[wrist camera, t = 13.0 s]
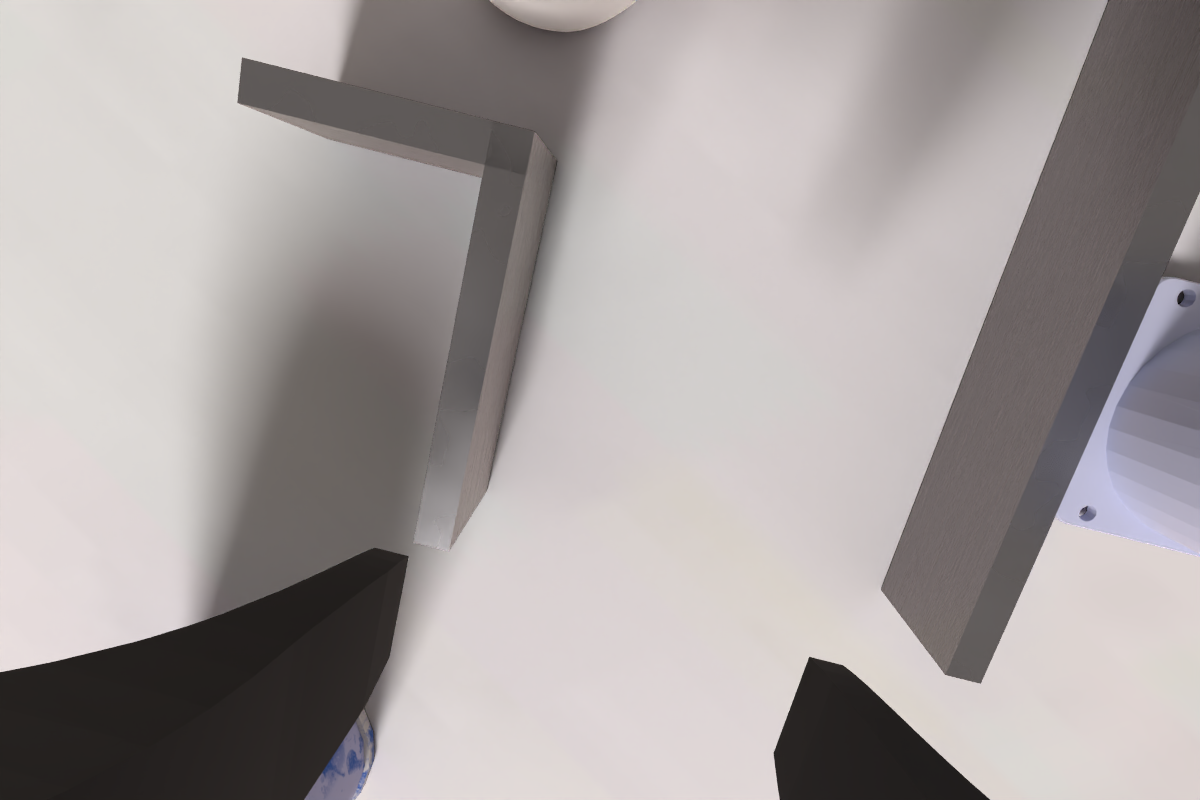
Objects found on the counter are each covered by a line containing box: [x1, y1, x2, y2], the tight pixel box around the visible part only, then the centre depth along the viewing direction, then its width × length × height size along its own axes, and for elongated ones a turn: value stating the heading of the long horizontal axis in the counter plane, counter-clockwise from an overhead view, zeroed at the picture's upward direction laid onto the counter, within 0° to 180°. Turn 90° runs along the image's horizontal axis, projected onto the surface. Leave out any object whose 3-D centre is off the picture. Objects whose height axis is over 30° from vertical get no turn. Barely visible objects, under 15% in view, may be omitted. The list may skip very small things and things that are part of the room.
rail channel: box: [238, 0, 1200, 684], centre depth 16 cm, size 22×26×4 cm
